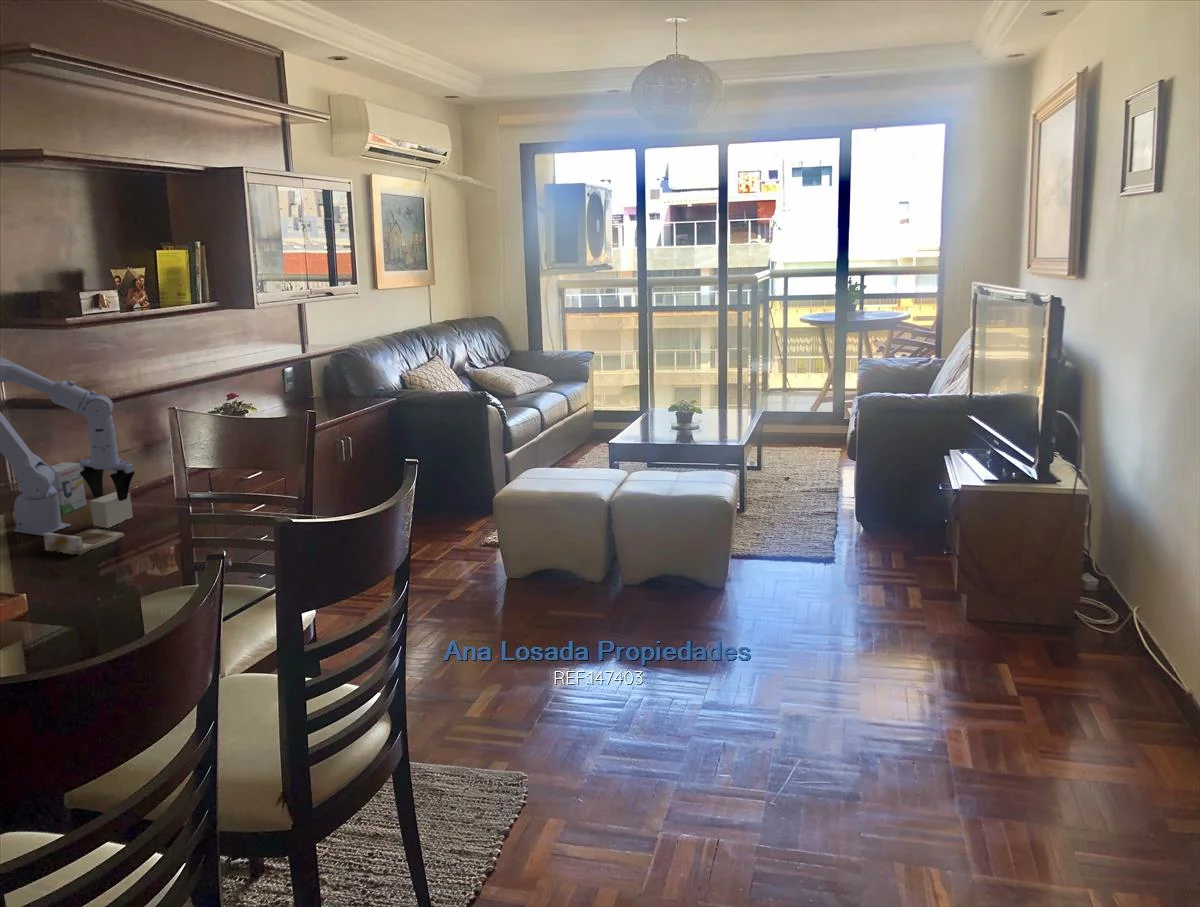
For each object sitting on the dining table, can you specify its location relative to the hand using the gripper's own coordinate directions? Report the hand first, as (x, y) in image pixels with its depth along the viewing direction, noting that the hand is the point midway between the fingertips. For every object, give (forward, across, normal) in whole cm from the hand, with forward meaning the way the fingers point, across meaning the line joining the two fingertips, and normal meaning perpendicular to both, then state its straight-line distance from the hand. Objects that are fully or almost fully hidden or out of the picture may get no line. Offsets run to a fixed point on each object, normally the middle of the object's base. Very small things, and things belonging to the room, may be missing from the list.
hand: (110, 498), depth 232 cm
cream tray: (+7, -5, +14) cm, 16 cm away
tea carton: (+7, 0, 0) cm, 7 cm away
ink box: (+7, +20, -5) cm, 22 cm away
